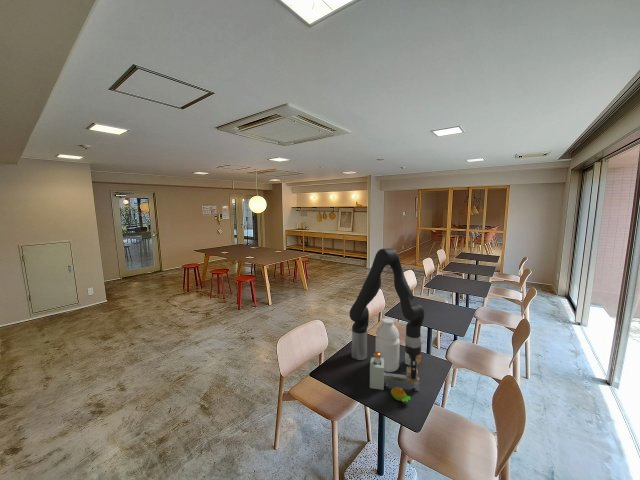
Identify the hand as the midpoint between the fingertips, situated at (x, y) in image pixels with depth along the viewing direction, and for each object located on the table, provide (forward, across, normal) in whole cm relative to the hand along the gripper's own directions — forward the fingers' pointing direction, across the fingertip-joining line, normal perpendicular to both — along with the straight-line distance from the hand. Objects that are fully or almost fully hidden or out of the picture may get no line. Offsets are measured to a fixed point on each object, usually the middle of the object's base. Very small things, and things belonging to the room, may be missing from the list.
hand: (412, 373), depth 137 cm
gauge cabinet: (+8, 0, -18) cm, 20 cm away
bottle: (+8, -18, -13) cm, 24 cm away
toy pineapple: (+9, +10, -6) cm, 15 cm away
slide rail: (+8, 0, -6) cm, 10 cm away
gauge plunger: (0, 0, -18) cm, 18 cm away
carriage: (+4, 0, 0) cm, 4 cm away
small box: (+9, -24, +2) cm, 26 cm away
